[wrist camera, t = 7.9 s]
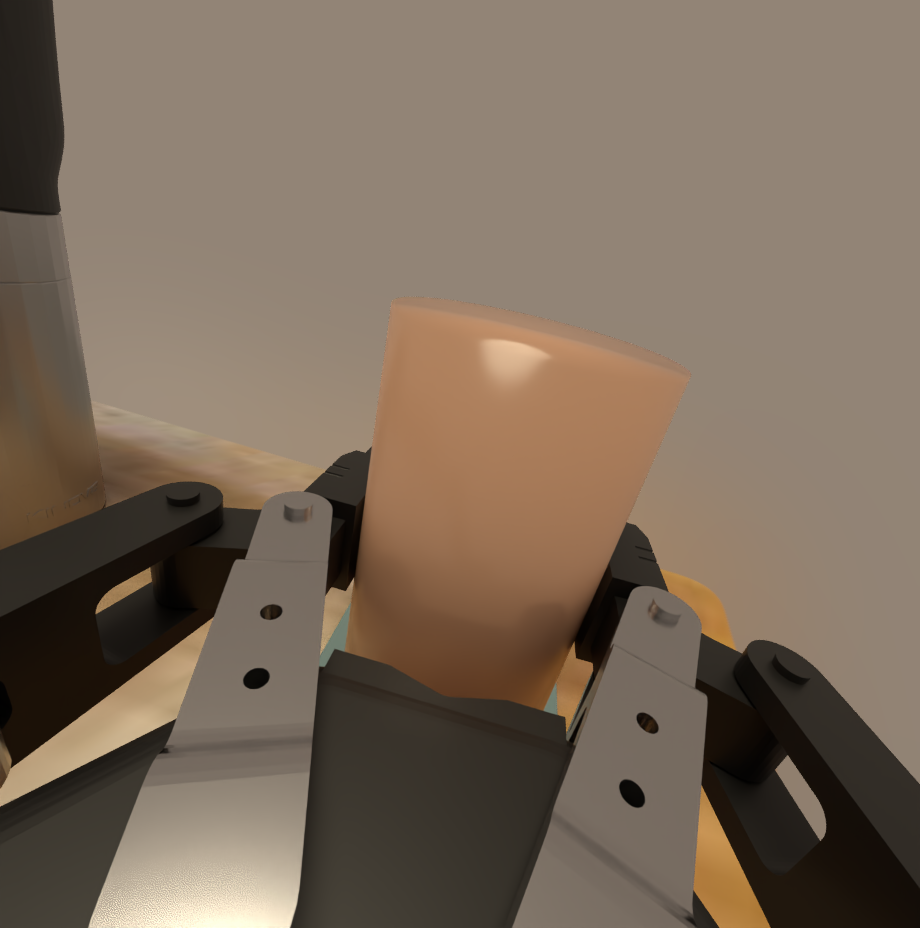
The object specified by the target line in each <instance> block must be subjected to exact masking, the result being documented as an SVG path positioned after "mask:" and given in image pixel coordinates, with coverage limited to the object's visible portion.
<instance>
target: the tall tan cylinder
mask: <svg viewBox="0 0 920 928" xmlns="http://www.w3.org/2000/svg"><path fill="white" fill-rule="evenodd" d="M690 377H691V373H690V372H689V371H688V370H687V369H686V368H685V367H683V366H682V365H680V364H678V363H677V362H675V361H673V360H671V359H669V358H666V357H664V356H662V355H660V354H657V353H655V352H652V351H650V350H647V349H644V348H642V347H639V346H637V345H634V344H630V343H628V342H625V341H622V340H619V339H616V338H613V337H610V336H606V335H603V334H600V333H597V332H593V331H590V330H586V329H583V328H579V327H575V326H572V325H568V324H564V323H560V322H557V321H553V320H549V319H545V318H541V317H536V316H532V315H528V314H524V313H519V312H514V311H510V310H505V309H500V308H495V307H490V306H484V305H479V304H473V303H467V302H461V301H454V300H446V299H438V298H426V297H401V298H396V299H394V300H393V301H392V303H391V310H390V317H389V324H388V332H387V339H386V347H385V354H384V362H383V369H382V376H381V384H380V391H379V399H378V406H377V413H376V422H375V428H374V436H373V443H372V451H371V458H370V465H369V473H368V480H367V488H366V495H365V503H364V510H363V517H362V525H361V532H360V540H359V547H358V555H357V562H356V569H355V577H354V584H353V592H352V599H351V606H350V614H349V621H348V629H347V636H346V644H345V651H344V652H348V653H351V654H354V655H358V656H361V657H364V658H368V659H371V660H374V661H378V662H381V663H385V664H388V665H391V666H392V667H394V668H396V669H398V670H399V671H401V672H403V673H404V674H406V675H408V676H410V677H411V678H413V679H415V680H417V681H418V682H420V683H422V684H424V685H425V686H427V687H429V688H431V689H432V690H434V691H436V692H438V693H439V694H442V695H444V696H448V697H462V698H480V699H498V700H509V701H512V702H515V703H519V704H522V705H526V706H529V707H532V708H536V709H539V710H542V711H544V708H545V706H546V704H547V701H548V699H549V697H550V695H551V692H552V690H553V688H554V686H555V683H556V681H557V679H558V677H559V674H560V672H561V670H562V667H563V665H564V663H565V661H566V658H567V656H568V654H569V652H570V649H571V647H572V645H573V643H574V640H575V638H576V636H577V633H578V631H579V629H580V627H581V624H582V622H583V620H584V618H585V615H586V613H587V611H588V609H589V606H590V604H591V602H592V599H593V597H594V595H595V593H596V590H597V588H598V586H599V584H600V581H601V579H602V577H603V575H604V572H605V570H606V568H607V565H608V563H609V561H610V559H611V556H612V554H613V552H614V550H615V547H616V545H617V543H618V541H619V538H620V536H621V534H622V531H623V529H624V527H625V525H626V522H627V520H628V518H629V516H630V513H631V511H632V509H633V507H634V504H635V502H636V500H637V497H638V495H639V493H640V491H641V488H642V486H643V484H644V482H645V479H646V477H647V475H648V473H649V470H650V468H651V466H652V463H653V461H654V459H655V456H656V454H657V452H658V450H659V448H660V445H661V443H662V441H663V439H664V436H665V434H666V432H667V429H668V427H669V425H670V423H671V420H672V418H673V416H674V414H675V411H676V409H677V407H678V404H679V402H680V400H681V398H682V395H683V393H684V391H685V389H686V386H687V384H688V382H689V379H690Z"/></svg>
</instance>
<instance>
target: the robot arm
mask: <svg viewBox="0 0 920 928" xmlns="http://www.w3.org/2000/svg"><path fill="white" fill-rule="evenodd" d="M53 14H54V13H53V1H52V0H0V788H1V787H2V785H3V784H4V782H5V780H6V778H7V776H8V774H9V771H10V768H12V767H13V766H15V765H16V764H17V763H19V762H20V761H21V760H23V759H24V758H25V757H27V756H28V755H29V754H31V753H32V752H33V751H35V750H36V749H37V748H39V747H40V746H41V745H43V744H44V743H45V742H47V741H48V740H49V739H51V738H52V737H53V736H55V735H56V734H57V733H59V732H60V731H61V730H63V729H64V728H65V727H67V726H68V725H69V724H71V723H72V722H73V721H75V720H76V719H77V718H79V717H80V716H82V715H83V714H84V713H86V712H87V711H88V710H90V709H91V708H92V707H94V706H95V705H96V704H98V703H99V702H100V701H102V700H103V699H104V698H106V697H107V696H108V695H110V694H111V693H112V692H114V691H115V690H116V689H118V688H119V687H120V686H122V685H123V684H124V683H126V682H127V681H128V680H130V679H131V678H132V677H134V676H135V675H136V674H138V673H139V672H140V671H142V670H143V669H144V668H146V667H147V666H149V665H150V664H151V663H153V662H154V661H155V660H157V659H158V658H159V657H161V656H162V655H163V654H165V653H166V652H167V651H169V650H170V649H171V648H173V647H174V646H175V645H177V644H178V643H179V642H181V641H182V640H183V639H185V638H186V637H187V636H189V635H190V634H191V633H193V632H194V631H195V630H197V629H198V628H199V627H201V626H202V625H203V624H205V623H206V622H207V621H209V620H210V619H212V618H213V617H214V618H213V621H212V624H211V626H210V629H209V632H208V635H207V637H206V640H205V643H204V645H203V648H202V651H201V654H200V656H199V659H198V662H197V665H196V667H195V670H194V673H193V675H192V678H191V681H190V684H189V686H188V689H187V692H186V695H185V697H184V700H183V703H182V705H181V708H180V711H179V714H178V716H177V719H175V720H173V721H171V722H169V723H167V724H165V725H163V726H161V727H159V728H157V729H155V730H153V731H151V732H149V733H147V734H145V735H143V736H141V737H139V738H137V739H135V740H133V741H131V742H129V743H127V744H125V745H123V746H121V747H119V748H117V749H115V750H113V751H111V752H109V753H107V754H105V755H103V756H101V757H99V758H97V759H95V760H93V761H91V762H89V763H87V764H85V765H83V766H81V767H79V768H77V769H75V770H73V771H71V772H69V773H67V774H65V775H63V776H61V777H59V778H57V779H55V780H53V781H51V782H49V783H47V784H45V785H43V786H41V787H39V788H37V789H35V790H33V791H31V792H29V793H27V794H25V795H23V796H21V797H19V798H17V799H15V800H13V801H11V802H9V803H7V804H5V805H3V806H1V807H0V928H719V927H718V925H717V924H716V922H715V921H714V919H713V918H712V916H711V915H710V914H709V912H708V911H707V909H706V908H705V906H704V905H703V903H702V902H701V901H700V899H699V898H698V896H697V895H696V893H695V892H694V890H693V885H694V872H695V859H696V846H697V833H698V820H699V807H700V794H701V785H702V787H703V789H704V791H705V793H706V795H707V797H708V799H709V801H710V803H711V805H712V807H713V810H714V812H715V814H716V816H717V818H718V820H719V822H720V824H721V826H722V828H723V830H724V832H725V834H726V836H727V838H728V840H729V843H730V845H731V847H732V849H733V851H734V853H735V855H736V857H737V859H738V861H739V863H740V865H741V867H742V869H743V871H744V873H745V876H746V878H747V880H748V882H749V884H750V886H751V888H752V890H753V892H754V894H755V896H756V898H757V900H758V902H759V904H760V906H761V908H762V911H763V913H764V915H765V917H766V919H767V921H768V923H769V925H770V927H771V928H920V784H919V783H918V782H917V781H916V780H915V778H914V777H913V776H912V775H911V774H910V773H909V772H908V770H907V769H906V768H905V767H904V766H903V765H902V764H901V763H900V762H899V760H898V759H897V758H896V757H895V756H894V755H893V754H892V753H891V751H890V750H889V749H888V748H887V747H886V746H885V745H884V744H883V742H882V741H881V740H880V739H879V738H878V737H877V736H876V735H875V733H874V732H873V731H872V730H871V729H870V728H869V727H868V726H867V725H866V723H865V722H864V721H863V720H862V719H861V718H860V716H858V714H857V713H856V712H855V711H854V710H853V709H852V707H851V706H850V705H849V704H848V703H847V702H846V701H845V700H844V698H843V697H842V696H841V695H840V694H839V693H838V692H837V691H836V690H835V688H834V687H833V686H832V685H831V684H830V683H829V682H828V681H827V679H826V678H825V677H824V676H823V675H822V674H821V673H820V672H819V671H818V670H817V669H816V668H815V667H814V666H813V665H812V664H810V663H809V662H808V661H807V660H805V659H804V658H803V657H801V656H800V655H798V654H797V653H795V652H793V651H792V650H790V649H788V648H786V647H784V646H781V645H779V644H777V643H773V642H770V641H765V640H755V641H752V642H751V643H750V644H749V645H748V646H747V648H746V649H745V651H744V652H743V653H740V652H738V651H736V650H734V649H731V648H729V647H727V646H725V645H723V644H721V643H719V642H717V641H715V640H713V639H711V638H709V637H708V636H706V635H704V634H703V633H701V629H702V627H701V622H700V619H699V618H698V616H697V614H696V613H695V612H694V611H693V609H692V608H691V607H690V606H689V605H687V604H686V603H685V602H684V601H682V600H681V599H680V598H678V597H677V596H675V595H673V594H671V593H669V591H668V589H667V586H666V584H665V581H664V579H663V576H662V573H661V571H660V568H659V566H658V564H657V563H656V558H655V556H654V553H652V551H653V550H652V548H651V545H650V542H649V540H648V538H647V537H646V536H645V535H644V533H643V532H642V531H641V530H640V529H639V528H638V527H637V526H636V525H633V524H629V523H627V522H626V525H625V527H624V529H623V531H622V534H621V536H620V538H619V541H618V543H617V545H616V547H615V550H614V552H613V554H612V556H611V559H610V561H609V563H608V565H607V568H606V570H605V572H604V575H603V577H602V579H601V581H600V584H599V586H598V588H597V590H596V593H595V595H594V597H593V599H592V602H591V604H590V606H589V609H588V611H587V613H586V615H585V618H584V620H583V622H582V624H581V627H580V629H579V631H578V633H577V636H576V638H575V640H574V641H575V653H576V658H577V659H581V660H584V661H588V662H591V663H593V672H592V674H591V676H590V678H589V680H588V682H587V684H586V687H585V689H584V692H583V694H582V697H581V699H580V702H579V704H578V707H577V709H576V712H575V714H574V717H573V719H572V721H571V724H570V726H569V729H568V731H567V734H566V722H565V717H562V716H559V715H556V714H552V713H549V712H546V711H542V710H539V709H536V708H532V707H529V706H526V705H522V704H519V703H515V702H512V701H509V700H498V699H480V698H462V697H448V696H444V695H442V694H439V693H438V692H436V691H434V690H432V689H431V688H429V687H427V686H425V685H424V684H422V683H420V682H418V681H417V680H415V679H413V678H411V677H410V676H408V675H406V674H404V673H403V672H401V671H399V670H398V669H396V668H394V667H392V666H391V665H388V664H385V663H381V662H378V661H374V660H371V659H368V658H364V657H361V656H358V655H354V654H351V653H348V652H344V651H341V650H338V649H334V651H333V653H332V654H331V656H330V658H329V660H328V662H327V664H326V665H325V667H322V666H319V660H320V648H321V637H322V626H323V614H324V603H325V596H326V594H327V593H328V591H329V590H330V588H331V587H334V588H337V589H341V590H344V591H346V590H347V588H348V586H349V585H350V583H351V581H352V580H353V578H354V577H355V569H356V562H357V555H358V547H359V540H360V532H361V525H362V517H363V510H364V503H365V495H366V488H367V480H368V473H369V465H370V458H371V451H372V447H371V448H370V449H369V450H368V451H367V452H366V453H364V452H360V451H353V452H351V453H348V454H345V455H342V456H341V457H340V458H339V459H338V460H337V461H336V462H335V463H333V465H332V466H330V467H329V468H328V469H327V470H326V471H325V473H323V474H322V475H321V476H320V477H318V478H317V479H316V480H315V481H314V482H313V483H312V484H311V485H310V486H309V487H308V488H307V489H306V490H305V491H304V492H299V491H295V492H285V493H281V494H278V495H275V496H273V497H271V498H270V499H268V500H267V501H266V502H265V503H264V505H263V508H262V510H251V509H237V508H223V495H222V493H221V491H220V490H219V489H217V488H216V487H214V486H212V485H209V484H205V483H200V482H176V483H170V484H166V485H163V486H160V487H157V488H155V489H152V490H150V491H147V492H144V493H142V494H139V495H137V496H134V497H132V498H129V499H127V500H124V501H122V502H119V503H117V504H114V505H112V506H109V507H107V508H104V509H102V508H103V506H104V504H105V497H106V496H105V489H104V483H103V477H102V470H101V464H100V458H99V451H98V443H97V436H96V430H95V424H94V418H93V411H92V405H91V399H90V393H89V386H88V380H87V374H86V368H85V362H84V355H83V349H82V343H81V336H80V330H79V324H78V317H77V311H76V305H75V299H74V293H73V286H72V280H71V275H70V270H69V263H68V256H67V250H66V244H65V238H64V231H63V226H62V218H61V214H59V212H60V211H61V209H60V202H59V195H58V175H59V170H60V165H61V161H62V155H63V148H64V123H63V113H62V103H61V93H60V84H59V73H58V61H57V51H56V40H55V39H56V38H55V26H54V15H53ZM149 567H150V568H151V576H152V582H151V583H149V584H147V585H146V586H144V587H142V588H140V589H139V590H137V591H135V592H134V593H132V594H130V595H128V596H127V597H125V598H123V599H122V600H120V601H118V602H116V603H115V604H113V605H111V606H110V607H108V608H106V609H104V610H103V611H101V612H99V613H98V614H96V615H95V612H96V608H97V605H98V603H99V601H100V600H101V599H102V597H103V596H104V595H105V594H106V593H107V592H108V591H109V590H111V589H112V588H113V587H115V586H117V585H119V584H120V583H122V582H124V581H126V580H128V579H129V578H131V577H133V576H135V575H137V574H138V573H140V572H142V571H144V570H146V569H148V568H149ZM787 755H788V756H789V757H790V759H791V760H792V762H793V763H794V765H795V766H796V768H797V769H798V770H799V772H800V773H801V775H802V776H803V778H804V779H805V781H806V782H807V784H808V785H809V787H810V788H811V790H812V791H813V792H814V794H815V795H816V797H817V799H818V800H819V802H820V804H821V806H822V808H823V811H824V814H825V818H826V833H825V836H824V838H823V839H822V840H821V841H820V840H819V838H818V837H817V835H816V834H815V832H814V831H813V829H812V828H811V826H810V824H809V823H808V821H807V820H806V818H805V817H804V815H803V813H802V812H801V810H800V809H799V808H798V806H797V804H796V803H795V801H794V799H793V798H792V796H791V795H790V793H789V792H788V790H787V788H786V787H785V785H784V784H783V782H782V780H781V779H780V777H779V776H778V774H777V773H776V771H775V769H776V768H777V767H778V766H779V764H780V763H781V762H782V761H783V760H784V759H785V757H786V756H787Z"/></svg>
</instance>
